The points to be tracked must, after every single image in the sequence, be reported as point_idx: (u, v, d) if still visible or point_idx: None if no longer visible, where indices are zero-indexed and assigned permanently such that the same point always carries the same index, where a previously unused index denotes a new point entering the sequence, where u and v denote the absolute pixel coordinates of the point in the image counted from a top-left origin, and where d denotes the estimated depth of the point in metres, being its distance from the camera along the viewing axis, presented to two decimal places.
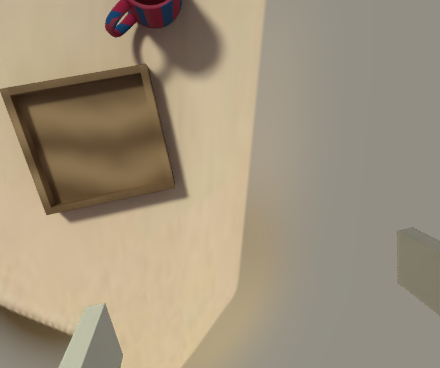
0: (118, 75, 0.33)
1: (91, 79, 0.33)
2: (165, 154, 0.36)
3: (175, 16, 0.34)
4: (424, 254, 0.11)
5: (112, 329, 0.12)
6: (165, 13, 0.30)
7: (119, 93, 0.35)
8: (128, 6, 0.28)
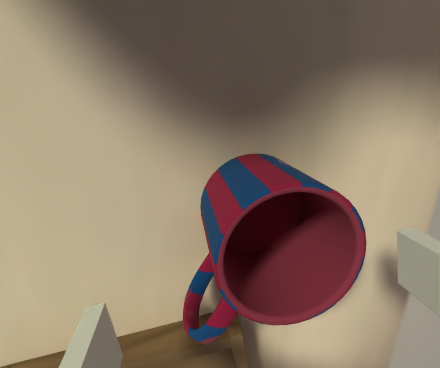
0: (192, 356, 0.18)
1: None
2: None
3: None
4: (424, 254, 0.11)
5: (112, 329, 0.12)
6: None
7: (187, 360, 0.20)
8: None
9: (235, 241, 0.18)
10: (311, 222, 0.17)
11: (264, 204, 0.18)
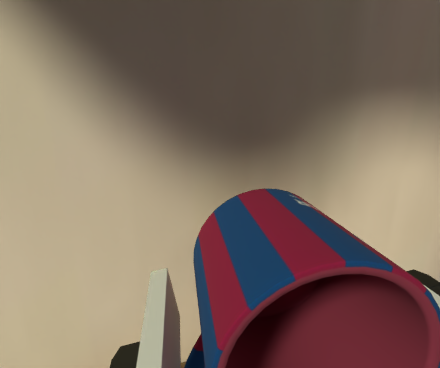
0: None
1: None
2: None
3: None
4: None
5: (172, 292, 0.14)
6: None
7: None
8: None
9: None
10: (343, 281, 0.12)
11: None
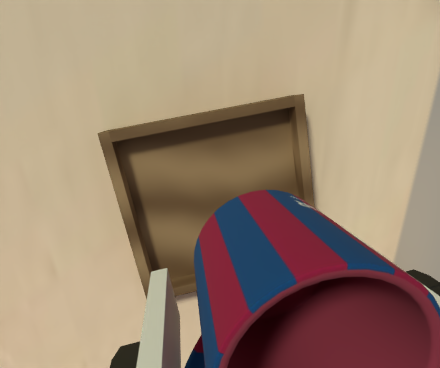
0: (264, 111, 0.23)
1: (227, 117, 0.22)
2: None
3: None
4: None
5: (172, 292, 0.14)
6: None
7: (254, 133, 0.24)
8: None
9: None
10: (344, 282, 0.12)
11: None
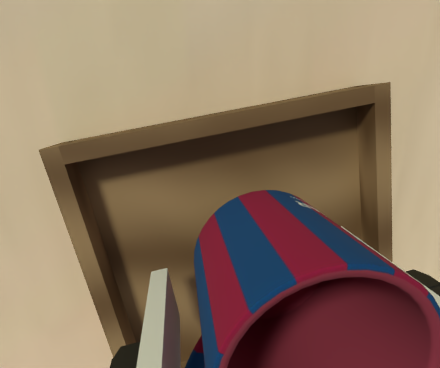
0: (324, 110, 0.13)
1: (263, 121, 0.13)
2: None
3: None
4: None
5: (172, 292, 0.14)
6: None
7: (302, 147, 0.15)
8: None
9: None
10: (344, 282, 0.12)
11: None
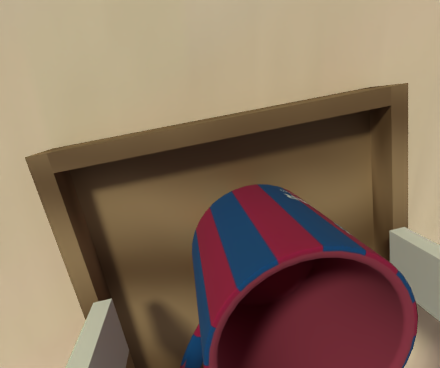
0: (337, 113, 0.12)
1: (270, 125, 0.12)
2: None
3: None
4: (415, 254, 0.12)
5: (119, 324, 0.12)
6: None
7: (311, 152, 0.14)
8: None
9: None
10: (332, 269, 0.13)
11: None
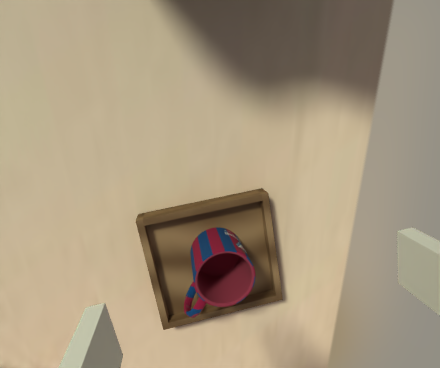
0: (242, 203, 0.35)
1: (218, 208, 0.35)
2: (277, 270, 0.38)
3: None
4: (424, 254, 0.11)
5: (112, 329, 0.12)
6: None
7: (237, 215, 0.37)
8: None
9: (208, 270, 0.37)
10: (242, 260, 0.35)
11: None
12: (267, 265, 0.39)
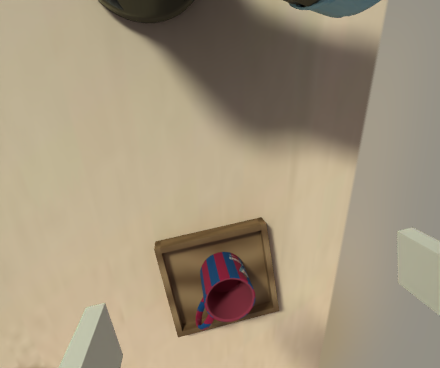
0: (244, 233, 0.41)
1: (223, 237, 0.41)
2: (274, 287, 0.44)
3: None
4: (424, 254, 0.11)
5: (112, 329, 0.12)
6: None
7: (240, 241, 0.43)
8: None
9: (215, 287, 0.43)
10: None
11: None
12: (266, 282, 0.45)
